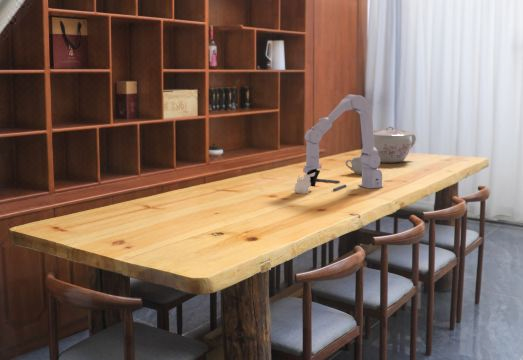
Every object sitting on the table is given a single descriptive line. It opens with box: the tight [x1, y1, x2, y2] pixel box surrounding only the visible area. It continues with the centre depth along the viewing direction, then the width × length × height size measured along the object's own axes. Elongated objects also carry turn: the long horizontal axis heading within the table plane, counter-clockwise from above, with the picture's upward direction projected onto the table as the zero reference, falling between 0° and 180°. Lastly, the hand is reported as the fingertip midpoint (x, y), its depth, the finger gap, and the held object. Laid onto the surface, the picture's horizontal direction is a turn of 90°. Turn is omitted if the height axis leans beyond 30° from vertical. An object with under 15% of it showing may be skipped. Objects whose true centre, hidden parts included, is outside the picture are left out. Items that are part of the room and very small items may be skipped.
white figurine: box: [293, 172, 315, 194], centre depth 294 cm, size 12×8×10 cm, turn 136°
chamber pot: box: [373, 125, 417, 164], centre depth 385 cm, size 28×28×21 cm
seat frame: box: [316, 178, 347, 192], centre depth 311 cm, size 20×21×1 cm
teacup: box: [345, 156, 362, 176], centre depth 344 cm, size 14×11×8 cm
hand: (312, 186), depth 299 cm, fingers closed
